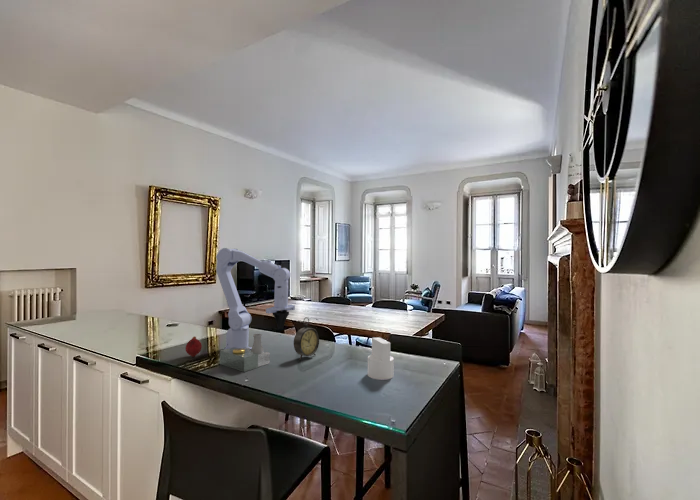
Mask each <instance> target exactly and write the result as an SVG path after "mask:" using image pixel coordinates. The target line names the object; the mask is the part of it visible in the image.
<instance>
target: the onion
mask: <svg viewBox="0 0 700 500" xmlns="http://www.w3.org/2000/svg"><path fill="white" fill-rule="evenodd" d="M202 348H203V346H202V342H201V341H200V340H199V339H197V336H193V337H192V338H191V339H189V340H188V341H187V342H186V345H185V352H186V354H187V355H189V356H190V357H192V358H194V357H196V356H197V355H198V354H199V353H200V352H201V351H202Z"/></svg>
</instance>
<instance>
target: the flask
mask: <svg viewBox="0 0 700 500" xmlns="http://www.w3.org/2000/svg"><path fill="white" fill-rule="evenodd" d="M262 335H263V334H262V333H254V334H253V343H252V346H251V347H252V349H250V352H254V353H257V354H262V353H265V351H264V347H263V345H262Z"/></svg>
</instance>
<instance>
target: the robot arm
mask: <svg viewBox="0 0 700 500" xmlns="http://www.w3.org/2000/svg"><path fill="white" fill-rule="evenodd" d="M215 257H216V269H215V270H216V275H217V277H218V280H219V283H220V285H221V289H222V291H223V294H224V297H225V300H226V303H227V306H228V308H229V311H228V313H227V316H228V326H229V328H228V329H227V332H226V336H225V347H224V348H223V350H225V349H229V348H233V347H235V348H245V347H250V346H249V335H250V334H249V331H250V329H249V328H250V327H249V325H250V324H251V322H252V320H253V319H252V316H251V315H252V314H250V313H249V311H248V310H247V307H246V306H245V305H243V303H242V301H241V297H240V295H239V292H238V290H237V289H238V288H237V286H236V283H235V280H234V278H233V276H232V272H231V271H232V270H233V268H234V266H235V265H236V264H237V263H239V262H244V263H247V264H248V265H251V266H253V267H255V268H257V269H258V271H259V273H262V274H263V275H265V276H267V277H270V278H272V279H273V281H274V295H273V296H274V298H273V299H274V300H273V301H274V302H273V303H274V304H273V305H274V306H272V307H267V308H265V313H266V314H272V316H273V317H274V319H275V323H276V328H277V329H278V330H283V329H284V327H285V323H286V320H287V319H288V316H289V314H290V311H295V309H296V307H295V306H296V305H293V304H289V280H290V278H291V272H290V270H289V269H288V268H287V267H282V265H279V264H278V265H277V264H276V263H273V262H272V260H270V259H267V260H266V259H265V260H263V261H262V260H260V259H258V258H256V257H254V255H250V254H249V253H247V252H245V251H243V250H239V249H238V248H227V247H223V248H221V249H219V251H218V252H217V254H216V256H215ZM252 347H253V346H251V347H250V350H252Z"/></svg>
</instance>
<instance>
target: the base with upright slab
mask: <svg viewBox="0 0 700 500" xmlns="http://www.w3.org/2000/svg"><path fill="white" fill-rule="evenodd" d="M394 360H395V359H394V356H392V355H391V342H390V341H388V340H386V339H384V338H382V337H378V336H377V337H372V338H371V354H370V355H368V356H367V377H369V378H371V379H373V380H380V381H381V380H382V381H383V380H391V379H392V378H394V375H395V374H394V372H395V371H394V370H395V368H394V366H395V362H394Z"/></svg>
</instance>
